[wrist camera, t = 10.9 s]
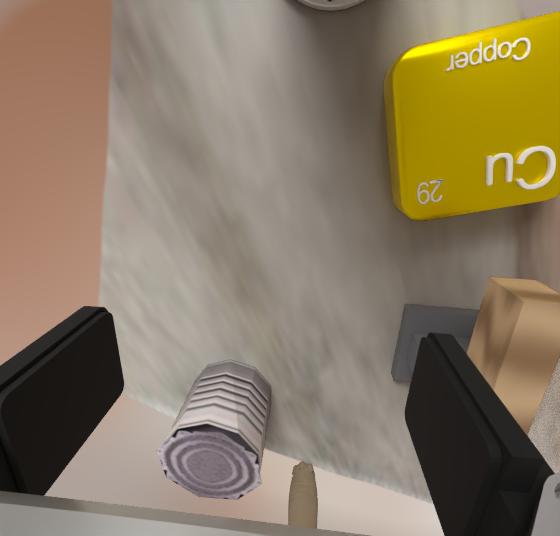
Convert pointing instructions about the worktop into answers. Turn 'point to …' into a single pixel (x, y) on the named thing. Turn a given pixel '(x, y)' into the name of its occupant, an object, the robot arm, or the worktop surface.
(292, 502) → the handle
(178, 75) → the worktop surface
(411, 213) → the element tile
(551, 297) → the oak batten
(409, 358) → the fulcrum stand
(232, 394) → the can
